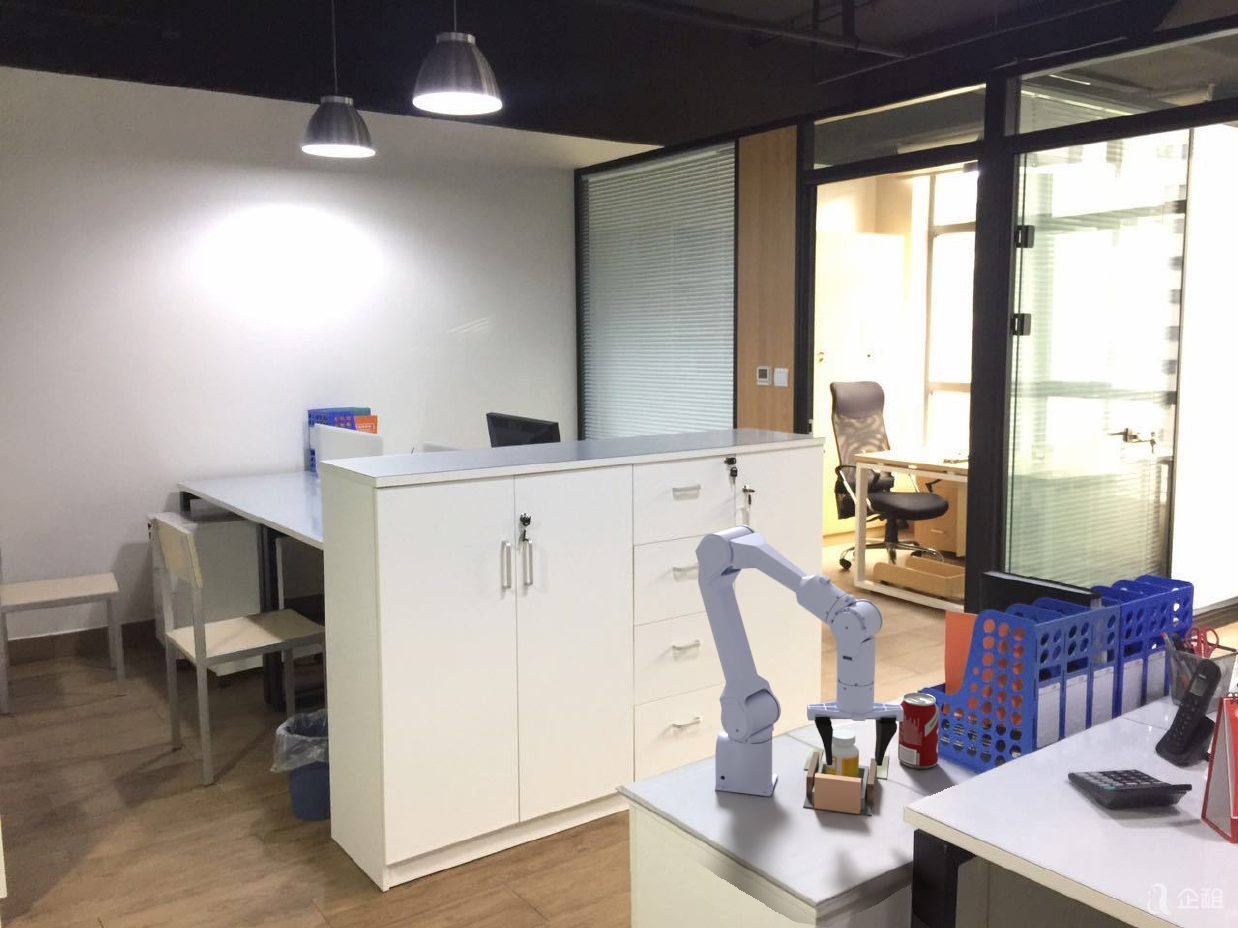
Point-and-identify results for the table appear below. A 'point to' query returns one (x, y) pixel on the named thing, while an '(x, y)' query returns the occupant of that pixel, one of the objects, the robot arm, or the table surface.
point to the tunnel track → (874, 773)
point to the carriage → (840, 790)
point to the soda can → (919, 731)
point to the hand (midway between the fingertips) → (853, 762)
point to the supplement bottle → (844, 754)
